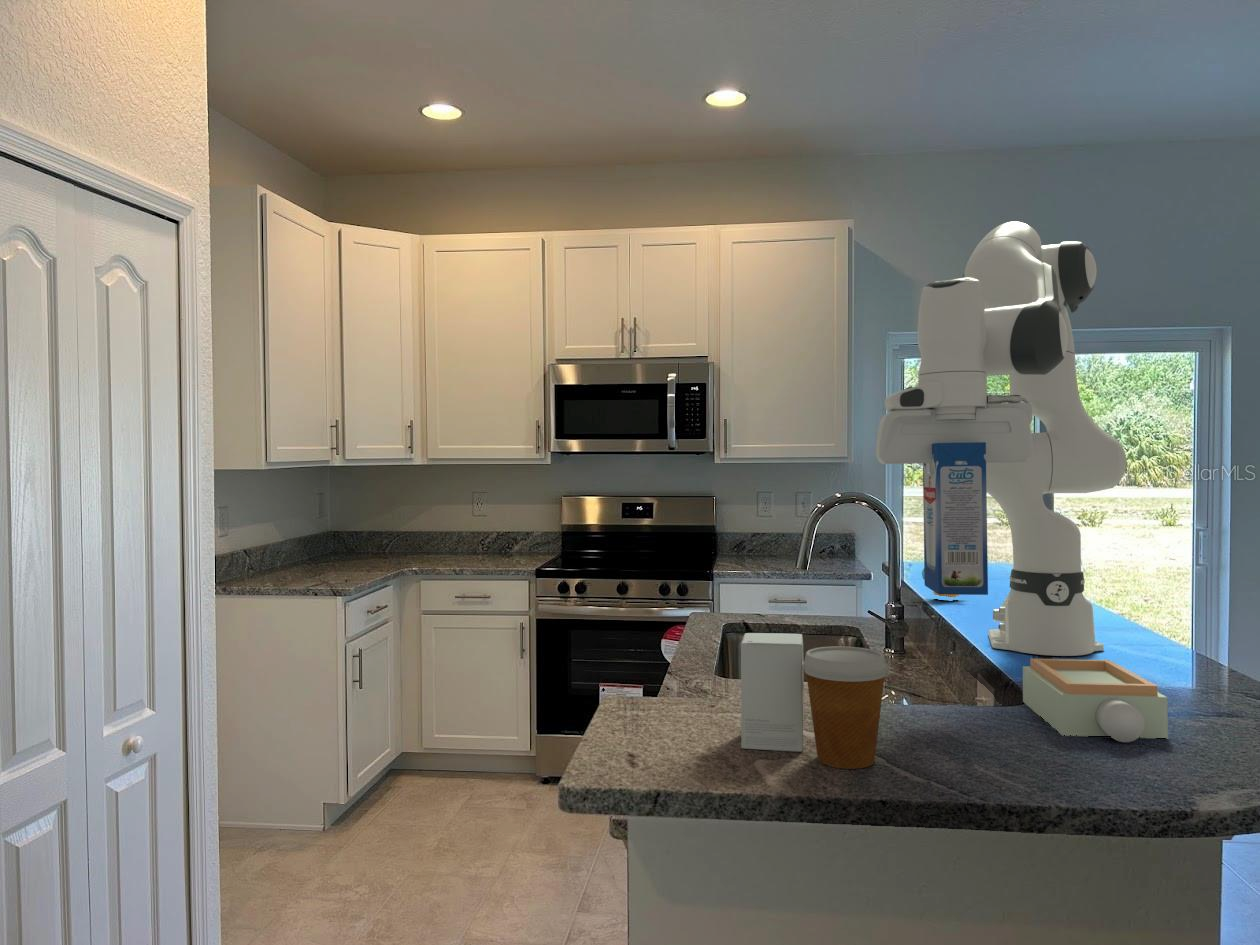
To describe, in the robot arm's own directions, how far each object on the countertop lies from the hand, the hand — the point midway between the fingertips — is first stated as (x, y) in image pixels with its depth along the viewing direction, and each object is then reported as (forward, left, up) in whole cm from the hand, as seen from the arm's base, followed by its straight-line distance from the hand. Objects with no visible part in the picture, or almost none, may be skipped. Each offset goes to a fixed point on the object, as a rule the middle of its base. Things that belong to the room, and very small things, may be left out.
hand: (953, 497), depth 122 cm
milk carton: (0, 0, -13) cm, 13 cm away
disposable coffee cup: (+24, -17, -29) cm, 41 cm away
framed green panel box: (+6, +16, -29) cm, 33 cm away
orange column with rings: (-103, +20, -29) cm, 109 cm away
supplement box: (+18, -25, -29) cm, 42 cm away
